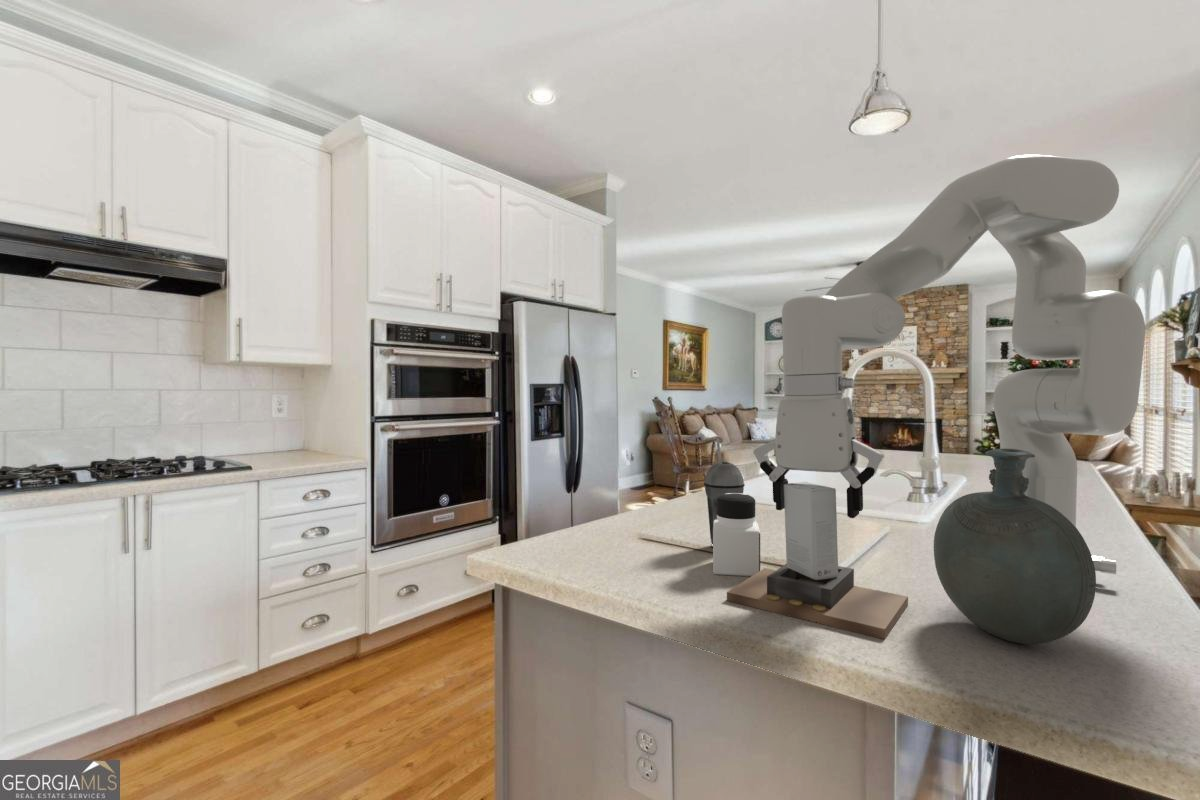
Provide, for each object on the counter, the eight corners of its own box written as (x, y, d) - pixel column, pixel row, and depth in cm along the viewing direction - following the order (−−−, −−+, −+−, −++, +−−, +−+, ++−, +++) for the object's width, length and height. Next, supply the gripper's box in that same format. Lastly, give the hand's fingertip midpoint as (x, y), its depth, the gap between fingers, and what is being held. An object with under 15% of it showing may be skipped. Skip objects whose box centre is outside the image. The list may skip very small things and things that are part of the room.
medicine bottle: (760, 577, 90) (760, 499, 90) (713, 574, 91) (712, 498, 91) (757, 563, 97) (757, 491, 97) (713, 561, 98) (713, 490, 98)
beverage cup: (749, 553, 103) (749, 439, 102) (707, 553, 103) (707, 439, 102) (739, 541, 110) (739, 435, 109) (700, 542, 110) (700, 436, 109)
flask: (1002, 671, 60) (1005, 459, 60) (918, 608, 77) (919, 442, 77) (1118, 672, 60) (1122, 458, 59) (1008, 608, 77) (1010, 441, 76)
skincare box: (839, 577, 79) (840, 487, 78) (812, 581, 77) (812, 490, 77) (808, 564, 84) (808, 480, 84) (782, 567, 83) (782, 482, 82)
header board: (907, 605, 78) (908, 577, 78) (884, 639, 68) (885, 607, 68) (764, 575, 91) (764, 552, 90) (726, 600, 80) (726, 574, 80)
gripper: (888, 385, 77) (891, 513, 78) (763, 388, 88) (767, 500, 89) (874, 387, 72) (877, 525, 72) (742, 390, 82) (746, 511, 83)
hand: (816, 511), depth 81 cm, fingers open, 9 cm apart
